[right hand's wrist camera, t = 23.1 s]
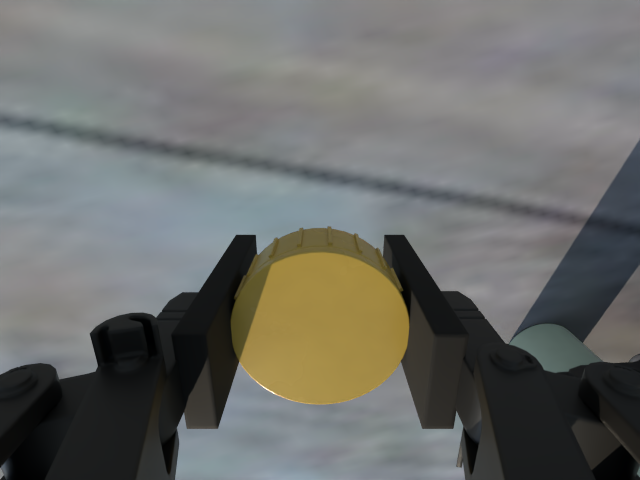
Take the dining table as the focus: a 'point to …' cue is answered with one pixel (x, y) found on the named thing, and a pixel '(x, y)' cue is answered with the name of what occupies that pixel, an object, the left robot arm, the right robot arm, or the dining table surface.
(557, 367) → the pale green tube
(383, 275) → the lid
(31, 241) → the dining table surface
